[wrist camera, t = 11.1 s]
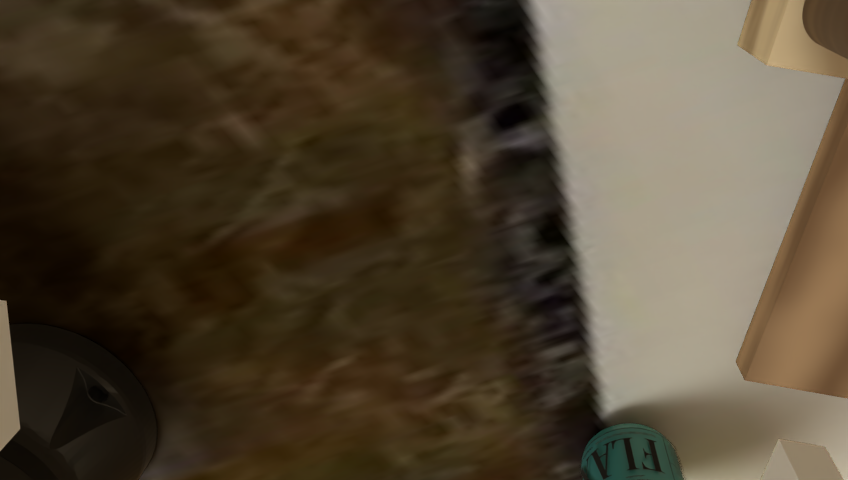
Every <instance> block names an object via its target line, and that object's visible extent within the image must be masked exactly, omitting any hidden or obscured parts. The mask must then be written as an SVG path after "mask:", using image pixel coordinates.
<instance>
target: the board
mask: <svg viewBox="0 0 848 480" xmlns="http://www.w3.org/2000/svg"><path fill="white" fill-rule="evenodd" d="M736 363H737V365H738V367H739V369H740V371H741V374H742V376H743V378H744V380H747V381H752V382H758V383H764V384H769V385H775V386H781V387H786V388H792V389H798V390H803V391H809V392H815V393H820V394H826V395H832V396H837V397H843V398H848V79H847V78H846V79H845V81H844V84H843V86H842V89H841V92H840V94H839V97H838V99H837V102H836V105H835V107H834V110H833V112H832V115H831V117H830V120H829V123H828V125H827V128H826V130H825V133H824V135H823V138H822V141H821V143H820V146H819V148H818V151H817V153H816V156H815V159H814V161H813V164H812V166H811V169H810V172H809V174H808V177H807V179H806V182H805V184H804V187H803V190H802V192H801V195H800V197H799V200H798V202H797V205H796V208H795V210H794V213H793V215H792V218H791V220H790V223H789V226H788V228H787V231H786V233H785V236H784V239H783V241H782V244H781V246H780V249H779V251H778V254H777V257H776V259H775V262H774V264H773V267H772V269H771V272H770V275H769V277H768V280H767V282H766V285H765V287H764V290H763V293H762V295H761V298H760V300H759V303H758V306H757V308H756V311H755V313H754V316H753V318H752V321H751V324H750V326H749V329H748V331H747V334H746V336H745V339H744V342H743V344H742V347H741V349H740V352H739V354H738V357H737V360H736Z"/></svg>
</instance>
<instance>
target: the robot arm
mask: <svg viewBox="0 0 848 480" xmlns="http://www.w3.org/2000/svg"><path fill="white" fill-rule="evenodd" d="M156 440H157V425H156V419H155V414H154V411H153V408H152V405H151V403H150V400H149V398H148V396H147V394H146V392H145V391H144V389H143V387H142V386H141V384H140V383H139V381H138V380H137V379H136V378H135V376H134V375H133V374H132V373H131V372H130V370H129V369H128V368H127V367H126V366H125V365H124V364H123V363H122V362H120V361H119V360H118V359H117V358H116V357H115V356H113V355H112V354H111V353H110V352H108V351H107V350H105V349H104V348H102V347H101V346H99V345H98V344H96V343H94V342H92V341H91V340H89V339H87V338H85V337H82V336H80V335H78V334H75V333H73V332H70V331H67V330H64V329H61V328H57V327H53V326H48V325H41V324H12V325H9V319H8V310H7V301H3V300H0V480H138V479H139V478H140V476H141V474H142V473H143V471H144V470H145V468H146V466H147V465H148V463H149V462H150V460H151V458H152V456H153V453H154V450H155V446H156ZM761 480H844V479H843V478H842V476H841V474H840V472H839V471H838V469H837V467H836V465H835V464H834V462H833V460H832V458H831V457H830V455H829V453H828V451H827V450H826V448H825V447H823V446H817V445H812V444H806V443H800V442H795V441H789V440H784V439H778V441H777V443H776V446H775V448H774V450H773V452H772V455H771V457H770V459H769V462H768V464H767V466H766V468H765V471H764V473H763V475H762V477H761Z"/></svg>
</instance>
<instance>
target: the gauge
mask: <svg viewBox="0 0 848 480" xmlns="http://www.w3.org/2000/svg"><path fill="white" fill-rule="evenodd" d="M737 45H738V46H739V47H741V48H742V49H744V50H745V51H747V52H748V53H750V54H751V55H753V56H754V57H755V58H757V59H758V60H760V61H761V62H763V63H764V64H766V65H768V66H775V67H781V68H787V69H793V70H799V71H805V72H811V73H817V74H823V75H829V76H835V77H841V78H847V79H848V0H752V1H751V4H750V7H749V10H748V13H747V16H746V19H745V22H744V26H743V29H742V32H741V35H740V38H739V41H738V44H737Z"/></svg>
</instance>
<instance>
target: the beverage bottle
mask: <svg viewBox="0 0 848 480" xmlns="http://www.w3.org/2000/svg"><path fill="white" fill-rule="evenodd" d="M669 442H670V441H669V440H667V439H666V438H665V437H664V436H663V435H662V434H661V433H659V432H658V431H656V430H654V429H652V428H650V427H647V426H644V425H640V424H632V423H627V424H618V425H614V426H611V427H608V428H606V429H604V430H602V431H600V432H599V433H597V434H596V435H595V436H594V437H593V438H592V439H591V440H590V441H589V443H588V444H587V446H586V448H585V450H584V452H583V454H582V455H583V457H582V456H581V457H582V463H581V467H580V469H581V468H582V471H581V474H582V476H583V480H683V476H684V475H683V476H682V472H681V470H682V469H681V468H680V467H682V466H680V465H679V464H681V463H679V462H680V461H681V460H679V462H678V459H679V458H678V457H677V455H676V454H677V452H675V449H676V448H675V449H674V448H673V447H672V445H673V444H672V443H671V442H670V443H671V444H672V445H671V444H670V443H669ZM677 458H678V459H677ZM580 460H581V459H580ZM579 466H580V464H579ZM683 471H684V470H683ZM580 477H581V476H580ZM685 478H686V477H685Z"/></svg>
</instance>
